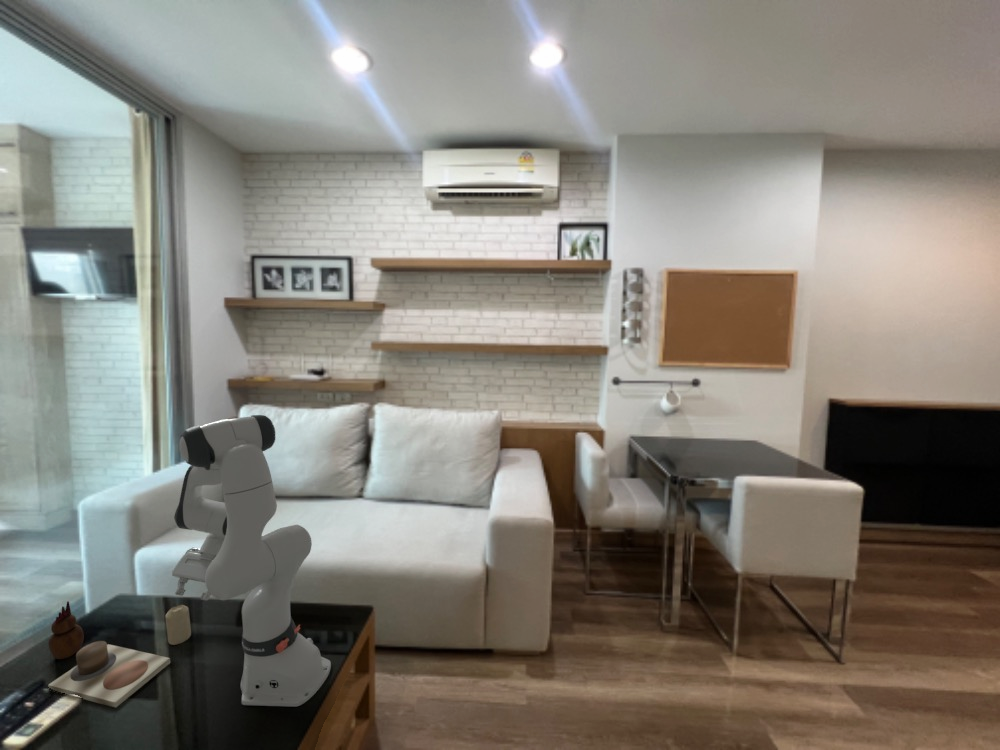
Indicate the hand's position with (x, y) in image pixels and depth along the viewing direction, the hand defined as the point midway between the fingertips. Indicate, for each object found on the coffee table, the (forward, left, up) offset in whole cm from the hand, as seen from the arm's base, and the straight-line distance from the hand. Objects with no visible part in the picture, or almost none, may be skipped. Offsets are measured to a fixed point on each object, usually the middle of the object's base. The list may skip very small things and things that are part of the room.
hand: (191, 597), depth 131 cm
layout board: (+5, +20, -10) cm, 23 cm away
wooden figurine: (+25, +17, -10) cm, 32 cm away
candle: (0, +5, -10) cm, 11 cm away
